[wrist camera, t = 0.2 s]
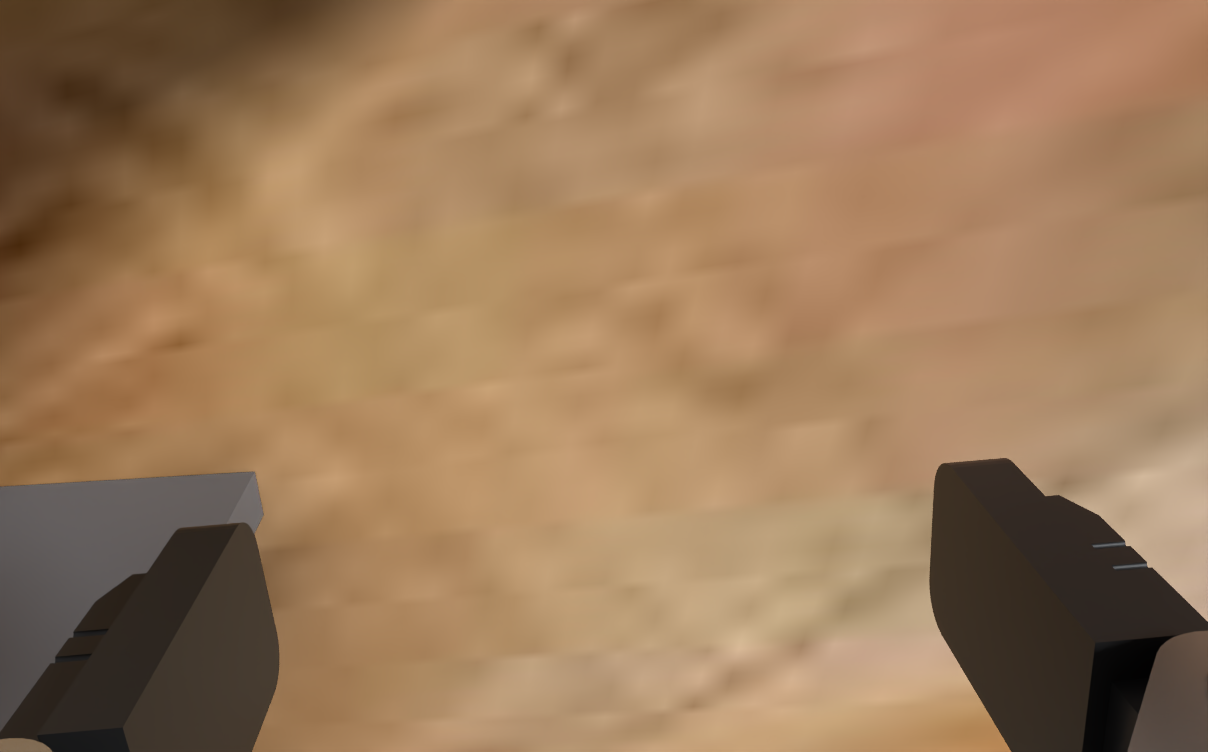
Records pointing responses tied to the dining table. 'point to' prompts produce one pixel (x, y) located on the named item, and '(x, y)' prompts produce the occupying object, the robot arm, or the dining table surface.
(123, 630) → the robot arm
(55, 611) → the step stand
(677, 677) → the dining table surface
